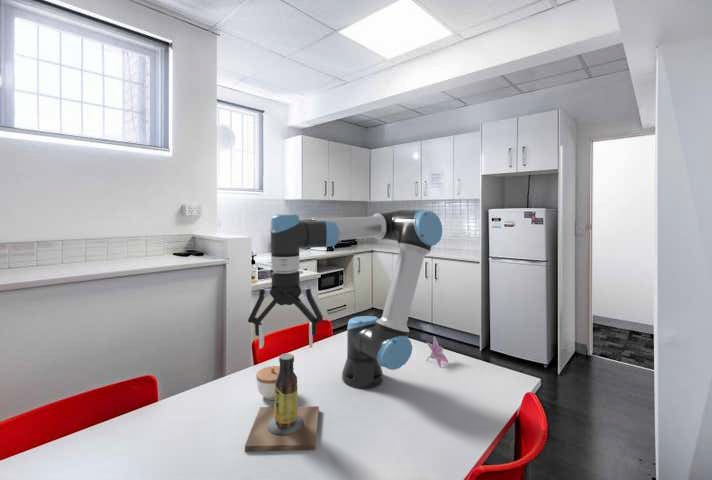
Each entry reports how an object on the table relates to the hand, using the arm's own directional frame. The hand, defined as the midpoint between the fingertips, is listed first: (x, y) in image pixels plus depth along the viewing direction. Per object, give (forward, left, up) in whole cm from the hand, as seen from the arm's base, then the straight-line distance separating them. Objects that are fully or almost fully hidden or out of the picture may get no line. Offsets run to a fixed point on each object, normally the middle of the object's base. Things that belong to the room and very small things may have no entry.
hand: (286, 346), depth 98 cm
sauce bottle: (0, 0, -23) cm, 23 cm away
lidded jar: (+7, -19, -24) cm, 32 cm away
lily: (-55, -43, -25) cm, 74 cm away
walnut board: (0, 0, -24) cm, 24 cm away
